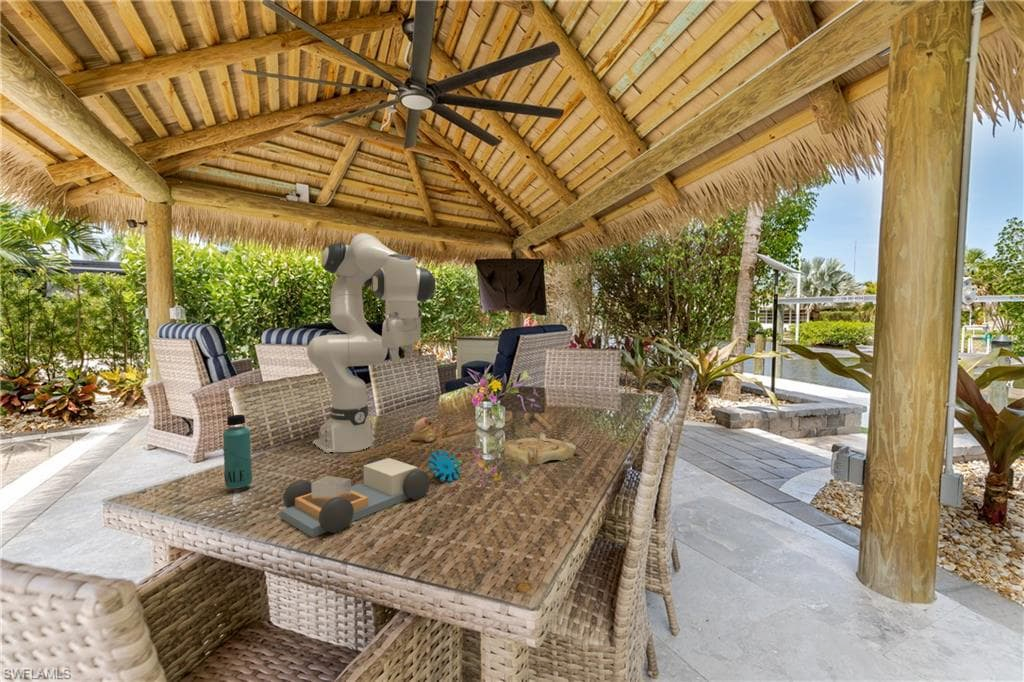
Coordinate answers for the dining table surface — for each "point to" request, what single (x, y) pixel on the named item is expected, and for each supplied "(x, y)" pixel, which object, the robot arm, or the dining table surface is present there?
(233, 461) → the beverage bottle
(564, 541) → the dining table surface
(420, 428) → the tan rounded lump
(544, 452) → the ashtray
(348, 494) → the block
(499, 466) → the dining table surface
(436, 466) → the gear
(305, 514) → the chassis
